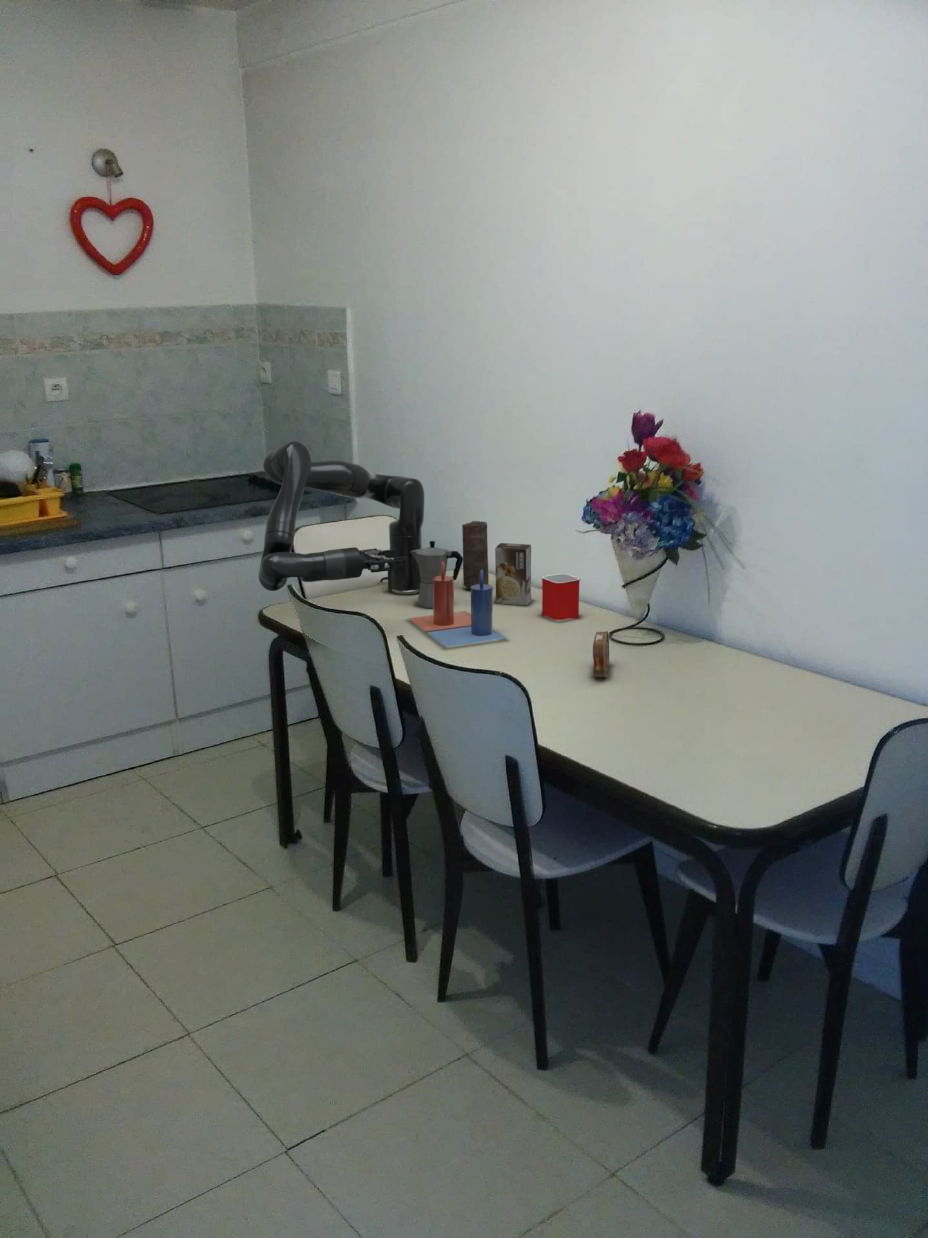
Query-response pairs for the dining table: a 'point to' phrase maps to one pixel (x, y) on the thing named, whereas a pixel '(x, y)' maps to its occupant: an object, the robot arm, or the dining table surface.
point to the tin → (601, 654)
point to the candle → (475, 553)
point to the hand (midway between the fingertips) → (402, 557)
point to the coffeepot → (432, 570)
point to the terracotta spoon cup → (443, 599)
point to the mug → (560, 596)
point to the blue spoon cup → (481, 608)
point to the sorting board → (453, 630)
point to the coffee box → (513, 573)
